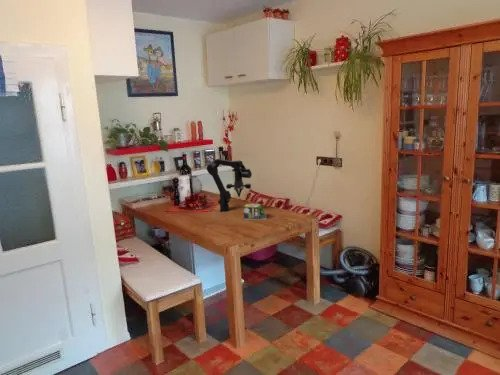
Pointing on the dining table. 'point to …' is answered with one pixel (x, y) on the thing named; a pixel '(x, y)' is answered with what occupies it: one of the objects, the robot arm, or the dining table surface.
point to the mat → (263, 217)
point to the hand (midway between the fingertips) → (239, 197)
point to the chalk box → (253, 211)
